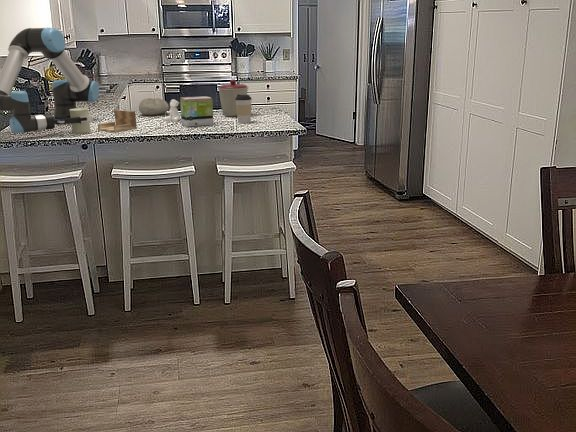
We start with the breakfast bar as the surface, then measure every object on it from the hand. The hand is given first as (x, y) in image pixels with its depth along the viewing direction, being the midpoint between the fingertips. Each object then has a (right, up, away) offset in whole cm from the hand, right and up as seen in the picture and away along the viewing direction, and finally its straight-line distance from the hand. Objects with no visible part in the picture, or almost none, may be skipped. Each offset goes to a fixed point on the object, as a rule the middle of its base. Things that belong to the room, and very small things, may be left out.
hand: (88, 117), depth 305 cm
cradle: (+14, -6, +4) cm, 15 cm away
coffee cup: (+79, 0, +20) cm, 81 cm away
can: (-3, -8, -1) cm, 9 cm away
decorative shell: (+22, +10, +54) cm, 60 cm away
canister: (+71, +8, +45) cm, 85 cm away
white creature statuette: (+38, +3, +30) cm, 48 cm away
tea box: (+54, -2, +15) cm, 56 cm away
